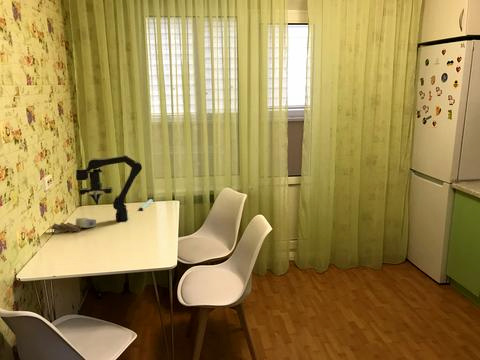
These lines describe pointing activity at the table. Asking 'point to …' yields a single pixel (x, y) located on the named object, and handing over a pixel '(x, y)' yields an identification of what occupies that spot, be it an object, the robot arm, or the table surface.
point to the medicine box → (85, 222)
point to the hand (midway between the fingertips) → (97, 204)
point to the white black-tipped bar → (146, 204)
